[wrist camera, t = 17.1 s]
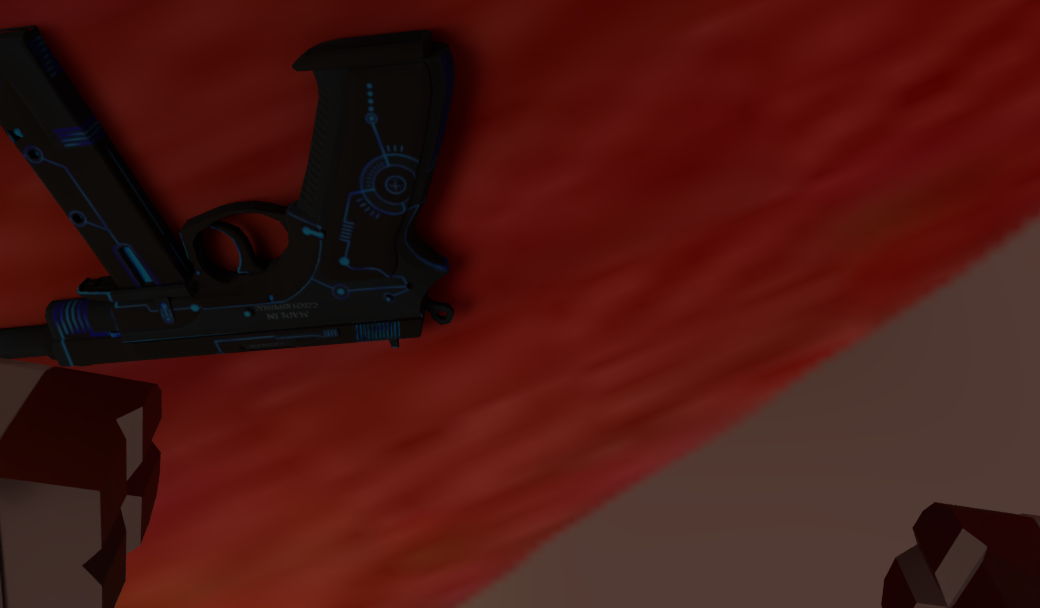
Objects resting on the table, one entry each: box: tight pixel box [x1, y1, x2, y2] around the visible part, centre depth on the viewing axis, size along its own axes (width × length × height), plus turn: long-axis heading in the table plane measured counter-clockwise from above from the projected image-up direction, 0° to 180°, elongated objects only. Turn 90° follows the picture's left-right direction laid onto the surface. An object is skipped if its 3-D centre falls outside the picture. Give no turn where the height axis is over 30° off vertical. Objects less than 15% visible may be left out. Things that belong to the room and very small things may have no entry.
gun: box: [0, 26, 455, 367], centre depth 40 cm, size 24×3×15 cm
